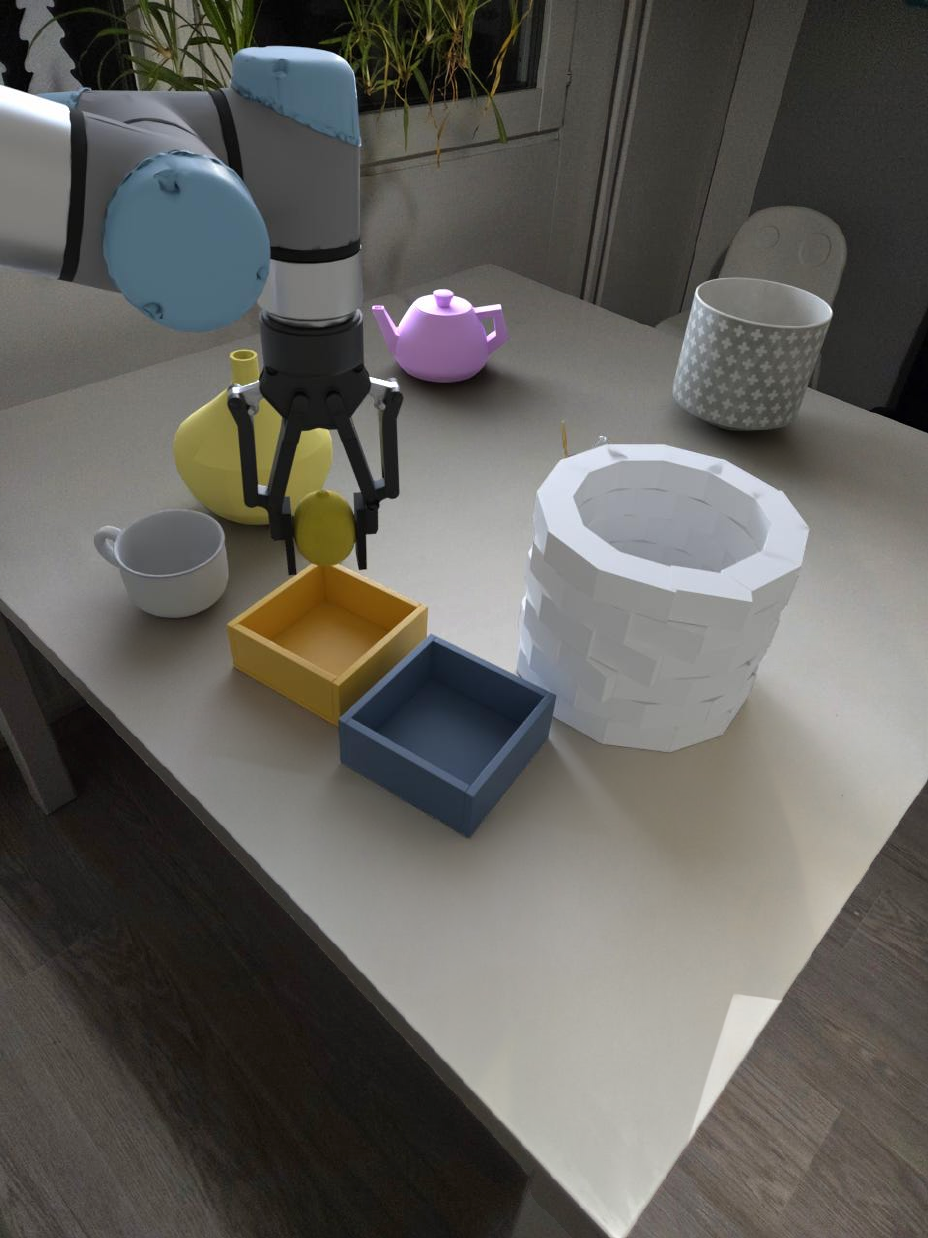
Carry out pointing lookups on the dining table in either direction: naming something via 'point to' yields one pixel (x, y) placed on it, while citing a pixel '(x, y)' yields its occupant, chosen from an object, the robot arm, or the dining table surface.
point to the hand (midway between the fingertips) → (326, 563)
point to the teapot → (442, 337)
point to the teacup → (169, 561)
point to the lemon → (324, 528)
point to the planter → (749, 352)
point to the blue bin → (446, 732)
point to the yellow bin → (326, 637)
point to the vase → (215, 456)
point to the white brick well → (654, 591)
